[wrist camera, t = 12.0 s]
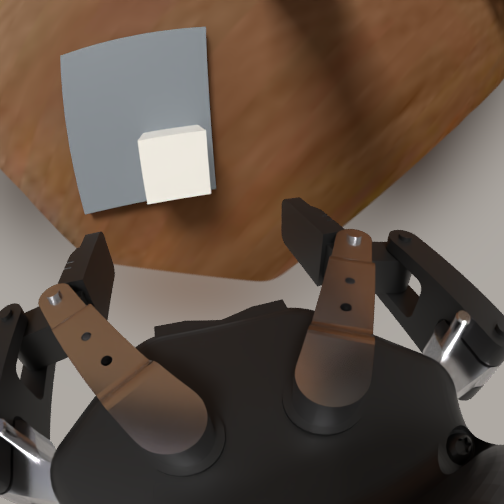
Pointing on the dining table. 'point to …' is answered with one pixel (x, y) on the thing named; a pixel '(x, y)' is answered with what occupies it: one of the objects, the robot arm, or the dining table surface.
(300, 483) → the robot arm
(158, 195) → the cream rounded cube
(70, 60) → the base plate
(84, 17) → the dining table surface
